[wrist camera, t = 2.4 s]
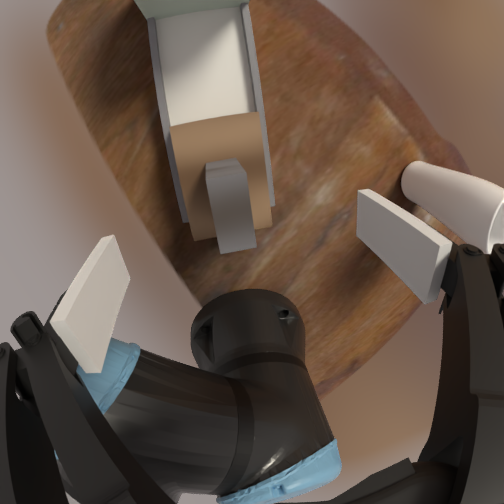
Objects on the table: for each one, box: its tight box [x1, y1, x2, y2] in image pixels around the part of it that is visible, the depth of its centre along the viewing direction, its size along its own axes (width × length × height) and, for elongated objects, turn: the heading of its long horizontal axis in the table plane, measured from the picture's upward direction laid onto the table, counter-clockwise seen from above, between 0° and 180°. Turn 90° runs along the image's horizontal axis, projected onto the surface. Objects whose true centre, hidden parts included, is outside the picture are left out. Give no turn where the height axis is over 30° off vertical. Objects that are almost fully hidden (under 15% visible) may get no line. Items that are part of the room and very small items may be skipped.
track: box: [147, 3, 275, 223], centre depth 22 cm, size 20×9×2 cm, turn 8°
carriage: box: [169, 111, 272, 254], centre depth 20 cm, size 10×7×9 cm
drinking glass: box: [401, 161, 504, 254], centre depth 23 cm, size 7×7×15 cm
